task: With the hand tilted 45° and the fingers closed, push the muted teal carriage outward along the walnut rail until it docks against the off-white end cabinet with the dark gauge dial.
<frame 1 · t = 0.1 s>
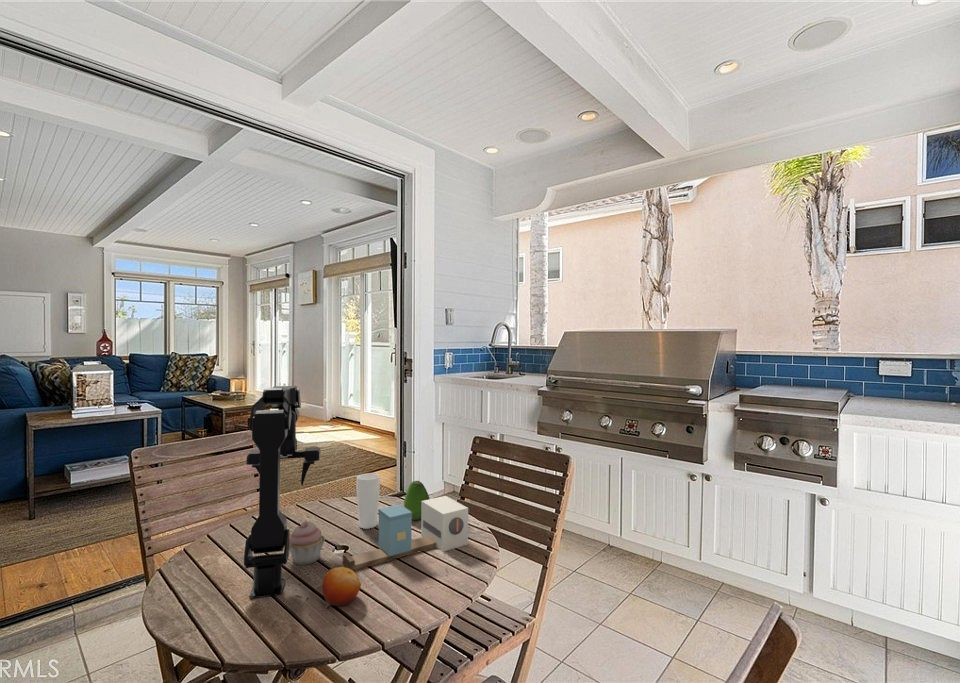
hand: (284, 486, 134), 15 cm above the table, tool pointing down, fingers open, 9 cm apart
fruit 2: (417, 519, 149), on the table
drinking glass: (367, 526, 143), on the table
carriage: (395, 529, 125), point 6 cm above the table, slide at 0.0 cm
fruit: (341, 602, 103), on the table
cabinet: (444, 540, 134), on the table
cupcake: (305, 560, 121), on the table
rail: (391, 554, 124), on the table
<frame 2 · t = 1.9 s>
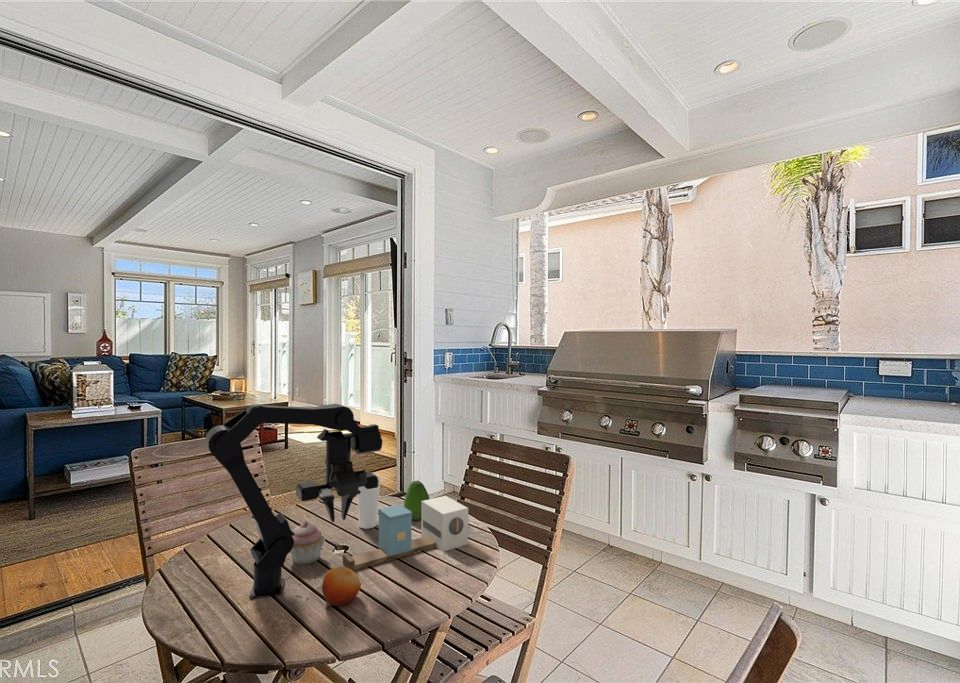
hand: (338, 520, 116), 12 cm above the table, tool pointing down, fingers closed
nothing on the table moved.
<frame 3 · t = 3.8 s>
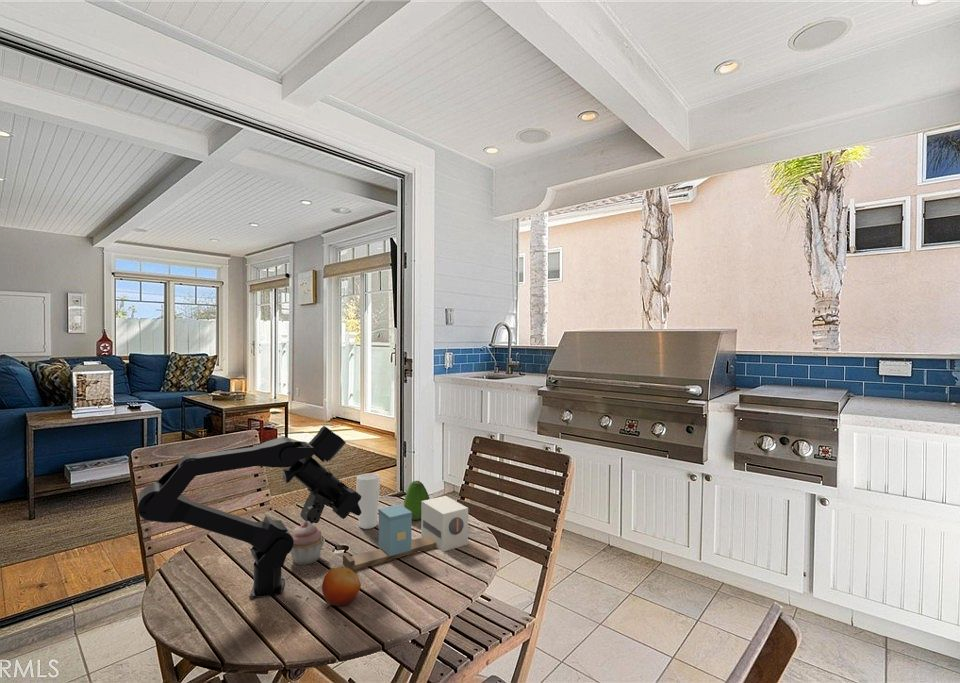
hand: (359, 513, 119), 13 cm above the table, tool tilted 45°, fingers closed
nothing on the table moved.
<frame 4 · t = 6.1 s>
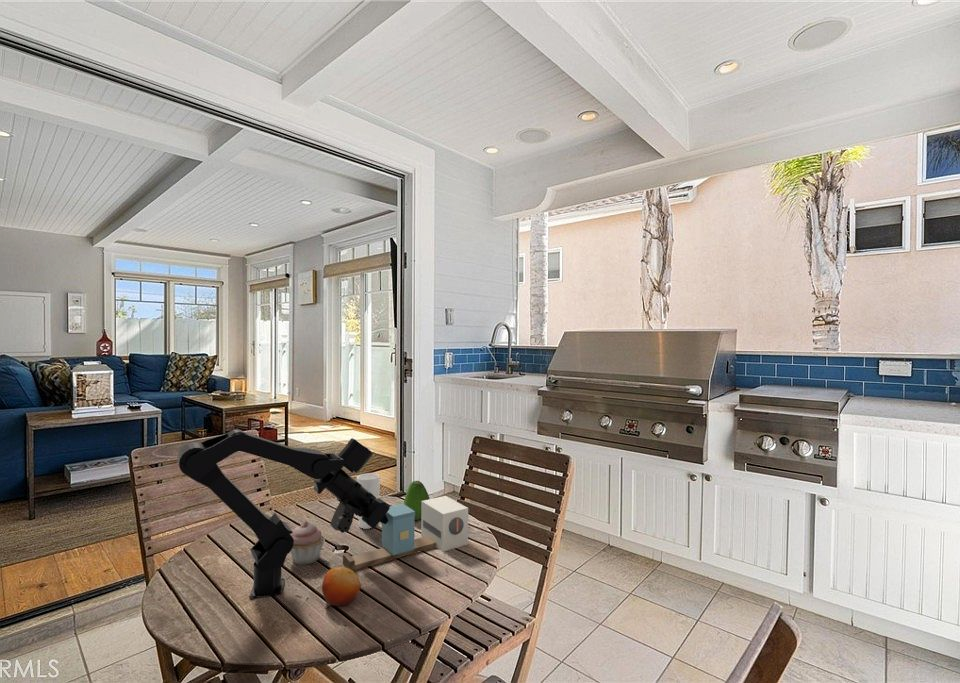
hand: (386, 522, 123), 9 cm above the table, tool tilted 45°, fingers closed, pressing on carriage
carriage: (398, 528, 125), point 6 cm above the table, slide at 0.9 cm, touching gripper
everything else where it was.
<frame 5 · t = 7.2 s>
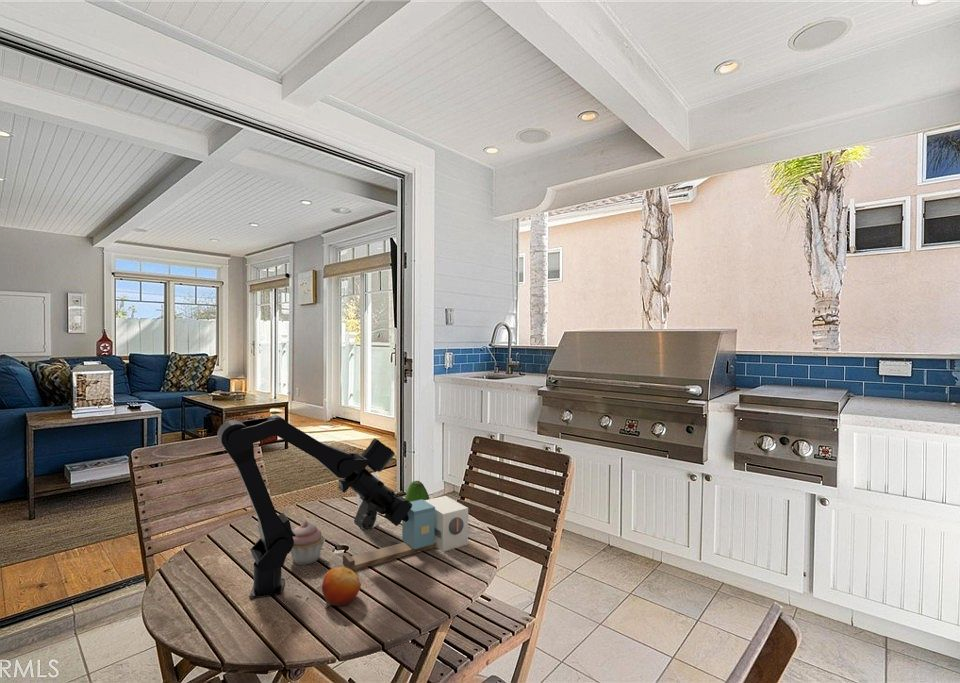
hand: (407, 520, 127), 8 cm above the table, tool tilted 45°, fingers closed, pressing on carriage
carriage: (418, 523, 129), point 6 cm above the table, slide at 6.9 cm, touching gripper
everything else where it was.
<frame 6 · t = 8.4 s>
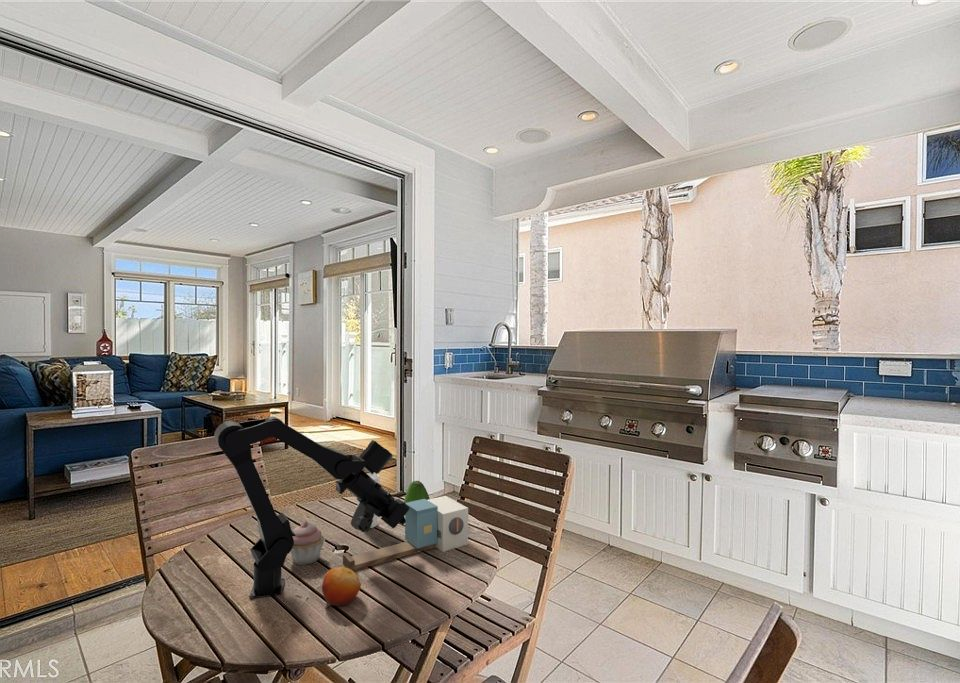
hand: (404, 522, 126), 8 cm above the table, tool tilted 45°, fingers closed
carriage: (421, 523, 129), point 6 cm above the table, slide at 7.7 cm
everything else where it was.
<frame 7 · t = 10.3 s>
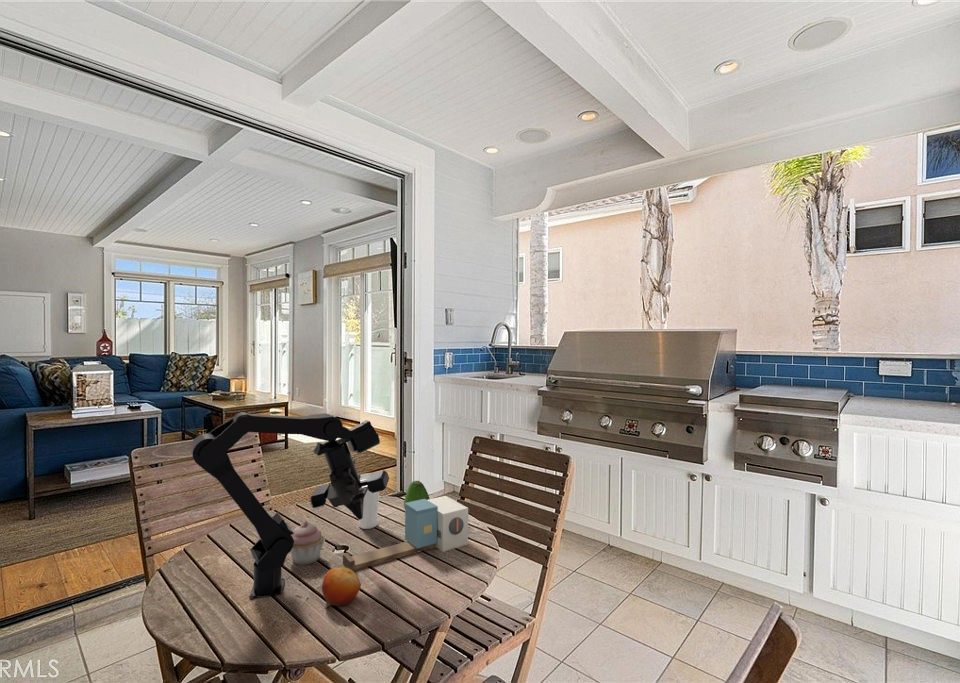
hand: (360, 518, 119), 11 cm above the table, tool tilted 20°, fingers closed
nothing on the table moved.
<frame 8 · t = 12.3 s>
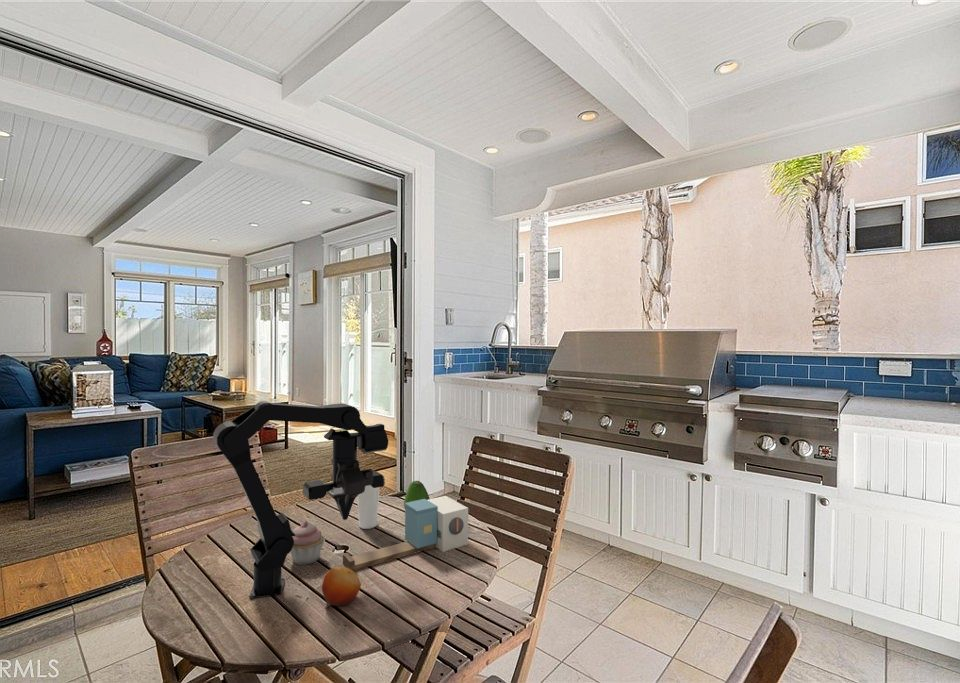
hand: (344, 519, 117), 12 cm above the table, tool pointing down, fingers closed
nothing on the table moved.
at the end: carriage slide at 7.7 cm; carriage 7.4 cm from the cabinet (horizontally) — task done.
